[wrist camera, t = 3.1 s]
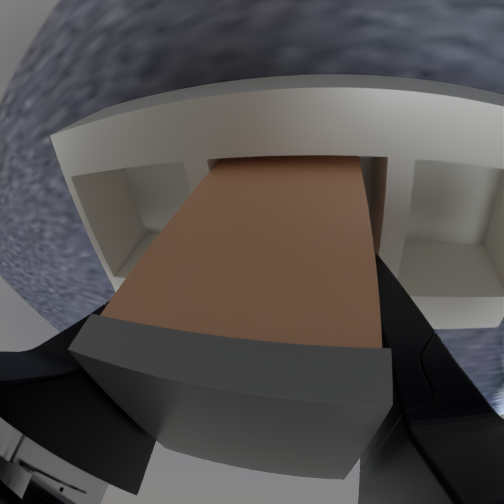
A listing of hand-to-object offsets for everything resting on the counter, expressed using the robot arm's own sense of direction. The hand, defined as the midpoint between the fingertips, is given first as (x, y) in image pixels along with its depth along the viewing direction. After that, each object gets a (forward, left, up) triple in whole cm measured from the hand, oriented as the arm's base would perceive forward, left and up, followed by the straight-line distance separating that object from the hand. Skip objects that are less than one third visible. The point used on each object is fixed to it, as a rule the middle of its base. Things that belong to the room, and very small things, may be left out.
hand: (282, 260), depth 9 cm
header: (0, 0, -5) cm, 5 cm away
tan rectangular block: (0, 0, -4) cm, 4 cm away
